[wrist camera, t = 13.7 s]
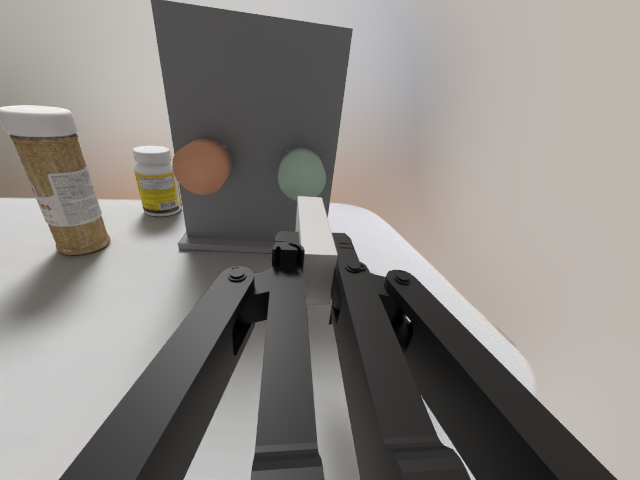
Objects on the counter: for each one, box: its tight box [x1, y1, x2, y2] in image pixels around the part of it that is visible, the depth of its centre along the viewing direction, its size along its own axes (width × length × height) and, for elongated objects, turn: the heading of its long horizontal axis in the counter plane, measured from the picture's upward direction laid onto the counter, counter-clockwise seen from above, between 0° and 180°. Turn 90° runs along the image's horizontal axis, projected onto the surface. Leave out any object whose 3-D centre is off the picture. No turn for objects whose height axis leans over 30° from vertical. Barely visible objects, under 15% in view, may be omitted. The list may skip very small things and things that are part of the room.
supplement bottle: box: [133, 146, 182, 216], centre depth 36 cm, size 5×5×8 cm
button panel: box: [151, 0, 353, 253], centre depth 29 cm, size 17×7×22 cm, turn 95°
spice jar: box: [0, 105, 110, 255], centre depth 26 cm, size 5×5×14 cm
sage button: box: [278, 147, 326, 201], centre depth 30 cm, size 4×12×4 cm, turn 5°
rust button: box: [172, 138, 232, 195], centre depth 29 cm, size 4×12×4 cm, turn 5°
